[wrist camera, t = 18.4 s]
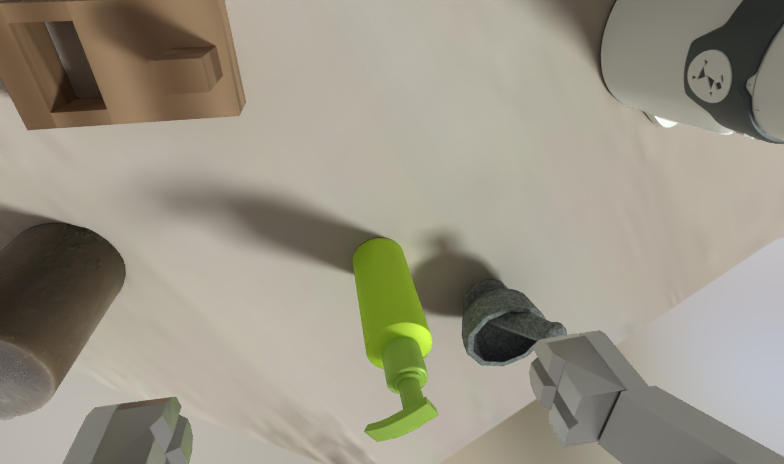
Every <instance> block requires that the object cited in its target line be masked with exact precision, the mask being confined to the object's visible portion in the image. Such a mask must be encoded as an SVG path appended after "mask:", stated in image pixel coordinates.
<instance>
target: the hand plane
mask: <svg viewBox="0 0 784 464" xmlns="http://www.w3.org/2000/svg"><path fill="white" fill-rule="evenodd" d="M53 21H73V24H74V26H75V29H76V31H77V34H78V37H79V39H80V42H81V44H82V47H83V49H84V52H85V54H86V57H87V59H88V62H89V64H90V67H91V69H92V72H93V75H94V77H95V80H96V82H97V85H98V87H99V90H100V92H101V95H102V98H85V99H77V98H76V96H75V93H74V91H73V89H72V86H71V84H70V82H69V79H68V77H67V75H66V72H65V70H64V68H63V65H62V63H61V61H60V58H59V56H58V54H57V51H56V49H55V47H54V44H53V42H52V40H51V37H50V35H49V33H48V31H47V28H46V26H45V24H44V22H53ZM0 78H1V80H2V81H3V83H4V85H5V87H6V89H7V91H8V93H9V95H10V97H11V99H12V101H13V103H14V105H15V107H16V109H17V111H18V113H19V115H20V116H21V118H22V120H23V122H24V124H25V126H26V128H27V130H37V129H52V128H67V127H81V126H96V125H111V124H126V123H141V122H156V121H170V120H185V119H200V118H215V117H230V116H239V115H240V113H241V111H242V109H243V107H244V105H245V103H246V101H245V96H244V91H243V87H242V82H241V77H240V72H239V68H238V63H237V58H236V53H235V48H234V44H233V39H232V34H231V29H230V25H229V20H228V15H227V10H226V6H225V1H224V0H22V1H0Z"/></svg>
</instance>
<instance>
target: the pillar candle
mask: <svg viewBox="0 0 784 464" xmlns="http://www.w3.org/2000/svg"><path fill="white" fill-rule="evenodd" d="M125 270H126V269H125V264H124V261H123V259H122V257H121V256H120V254H119V253H118V252H117V250H116V249H115V248H114V247H113V246H112V245H111V244H110V243H109V242H108V241H106V240H104V239H103V238H101V237H100V236H99V235H97V234H96V233H94V232H92V231H90V230H88V229H84V228H81V227H77V226H72V225H69V224H58V223H49V224H41V225H38V226H34V227H31V228H29V229H27V230H26V231H24V232H22V233H21V234H20V235H19V236H17V237H16V238H15V239H14V240H13V241H12V242H11V243H10V244H8V245H7V246H6V247H5V248H4V249H3V250H2V251H1V252H0V420H9V419H13V418H14V417H16V416H22V415H26V414H29V413H31V412H34V411H36V410H38V409H40V408H42V407H43V406H44V405H45V404H47V403H48V402H49V401H50V399H51V398H52V397H53V395H54V393H55V391H56V390H57V388H58V387H59V385H60V384H61V382H62V381H63V379H64V377H65V376H66V374H67V373H68V371H69V370H70V368H71V366H72V365H73V363H74V362H75V360H76V359H77V357H78V355H79V354H80V352H81V350H82V349H83V347H84V346H85V344H86V343H87V341H88V340H89V338H90V336H91V335H92V333H93V332H94V330H95V328H96V327H97V325H98V324H99V322H100V321H101V319H102V317H103V316H104V314H105V313H106V311H107V310H108V308H109V306H110V305H111V303H112V302H113V300H114V299H115V297H116V296H117V294H118V293H119V292H120V290H121V288H122V286H123V284H124V279H125V274H126V272H125Z"/></svg>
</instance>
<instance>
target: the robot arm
mask: <svg viewBox="0 0 784 464" xmlns="http://www.w3.org/2000/svg"><path fill="white" fill-rule="evenodd" d="M601 67H602V73H603V77H604V80H605V83H606V85H607V87H608V89H609V91H610V92H611V93H612V95H613V96H614V97H615V98H616V99H617V100H618V101H620V102H621V103H623V104H625V105H627V106H629V107H632V108H635V109H639V110H641V111H643V112H645V113H646V115H647V116H648V117H649V119H650V120H651V121H652V122H653V123H654V124H655V125H657V126H660V127H664V128H670V127H672V126H674V125H676V124H678V123H680V124H683V125H687V126H691V127H694V128H698V129H702V130H705V131H709V132H713V133H716V134H721V135H728V134H731V133H732V132H734V131H736V133H738V134H741V135H743V136H746V137H748V138H752V139H757V140H763V141H766V142H770V143H775V144H784V0H617V1H616V3H615V5H614V7H613V9H612V11H611V14H610V16H609V19H608V21H607V24H606V28H605V31H604V35H603V40H602V47H601ZM534 351H535V353H536V355H537V356H538V357H537V358H536V359H535V360H534V361H533V362H532V363H531V366H530V372H529V375H530V382H531V386H532V389H533V392H534V394H535V396H536V398H537V400H538V402H539V403H540V404H541V405H543V406H544V407H546V408H547V409H548V410H550V412H549V418H548V421H549V423H550V424H551V426H552V428H553V430H554V432H555V434H556V435H557V437H558V439H559V441H560V443H561V445H562V446H563V447H568V446H574V445H580V444H586V443H593V442H599V443H598V444H599V445H600V446H601V447H603V448H604V449H605V450H606V451H607V452H609V453H610V454H611V455H612V456H614V457H615V458H616V459H617V460H618V461H620V462H621V463H622V464H784V457H783V456H781V455H779V454H777V453H776V452H774V451H772V450H770V449H769V448H767V447H765V446H763V445H761V444H760V443H758V442H756V441H754V440H752V439H750V438H749V437H747V436H745V435H743V434H741V433H740V432H738V431H736V430H734V429H732V428H731V427H729V426H727V425H725V424H723V423H722V422H720V421H718V420H716V419H714V418H712V417H711V416H709V415H707V414H705V413H704V412H702V411H700V410H698V409H696V408H695V407H693V406H691V405H689V404H687V403H686V402H683V401H682V400H680V399H678V398H676V397H675V396H673V395H671V394H669V393H667V392H666V391H663V390H662V389H660V388H658V387H657V386H650V387H649V386H648V385H647V383H646V382H645V381H644V380H643V379H642V377H641V376H640V375H639V374H638V373H637V371H636V370H635V369H634V368H633V367H632V365H631V364H630V363H629V362H628V361H627V359H626V358H625V357H624V356H623V355H622V353H621V352H620V351H619V350H618V349H617V347H616V346H615V345H614V344H613V343H612V341H611V340H610V339H609V338H608V337H607V335H606V334H605V333H603V332H601V331H600V330H599V331H592V332H586V333H580V334H577V333H576V334H570V335H564V336H558V337H553V338H547V339H541V340H539V341H538V342H537V343H536V346H535V350H534ZM180 409H181V405H180V403H179V401H178V399H177V398H176V397H170V398H162V399H154V400H146V401H139V402H131V403H123V404H116V405H109V406H102V407H95V408H94V409H93V410H92V411H91V412H90V413H89V414H88V415H87V416H86V418H85V420H84V422H83V424H82V426H81V428H80V430H79V432H78V434H77V436H76V438H75V440H74V442H73V444H72V446H71V448H70V450H69V452H68V454H67V456H66V458H65V460H64V462H63V464H189V461H190V457H191V452H192V438H193V435H192V430H191V425H190V423H189V421H188V419H187V418H185V417H183V416H181V415H179V412H180Z"/></svg>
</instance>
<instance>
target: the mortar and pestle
mask: <svg viewBox="0 0 784 464" xmlns="http://www.w3.org/2000/svg"><path fill="white" fill-rule="evenodd" d="M463 308H464V314H463V319H462V339H463V343H464V347H465V349H466V352H467V354H468V355H469V356H470V357H472V358H473V359H474V360H475V361H477V362H478V363H479V364H480V365H487V366H505V365H508V364H510V363H513V362H515V361H517V360H520V359H522V358H525V357H527V356H528V355H529V354H530V353H531V352H532V351H533V350H534V349H535V346H536V343H537V342H538V341H539V340H541V339H547V338H553V337H558V336H564V335H567V332H566V328H565V327H564V326H563V325H562V324H561V323H559V322H550V321H548V320H546V319H545V317H544V316H543V314H542V313H541V312H540V311H539V310H538V309H537V307H536V306H535V305H534V304H533V303H532V302H531V301H530V300H529V299H528V298H527V297H526V296H525V295H524V294H523V293H521V292H519V291H516V290H512V289H508V288H507V287H506V286H505V285H504V284H503V283H502V282H501V281H497V280H485V281H483V282H480V283H478V284H475V285H473V286H472V287H471V288H470V290H469V291H468V292H467V293H466V294H465V295H464V300H463Z"/></svg>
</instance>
